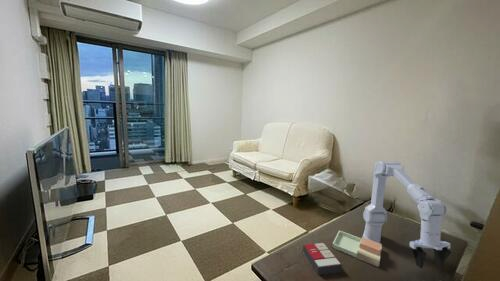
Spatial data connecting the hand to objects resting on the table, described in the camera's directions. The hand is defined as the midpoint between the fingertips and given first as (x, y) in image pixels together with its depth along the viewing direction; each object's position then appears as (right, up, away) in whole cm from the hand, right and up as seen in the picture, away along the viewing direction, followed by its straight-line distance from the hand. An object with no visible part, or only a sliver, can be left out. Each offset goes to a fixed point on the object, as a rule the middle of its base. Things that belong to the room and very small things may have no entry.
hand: (428, 266), depth 78 cm
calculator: (-36, -7, +15) cm, 40 cm away
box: (-19, -5, +26) cm, 33 cm away
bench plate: (-11, -6, +20) cm, 24 cm away
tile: (-11, -4, +20) cm, 23 cm away
